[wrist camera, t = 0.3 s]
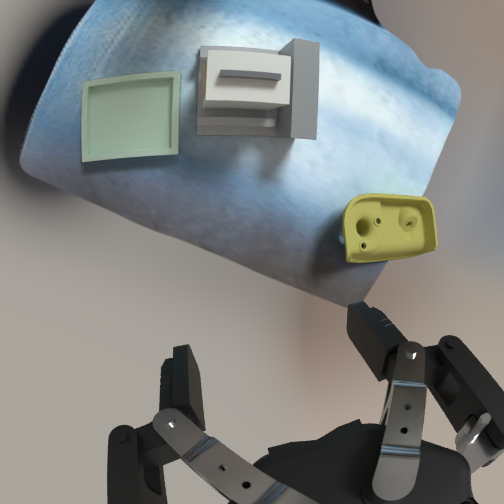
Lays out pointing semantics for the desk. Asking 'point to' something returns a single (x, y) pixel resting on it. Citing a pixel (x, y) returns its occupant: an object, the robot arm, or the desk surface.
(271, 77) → the labeled white box
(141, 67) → the desk surface
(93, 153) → the tray
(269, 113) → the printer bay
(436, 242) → the plastic component
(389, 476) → the robot arm
